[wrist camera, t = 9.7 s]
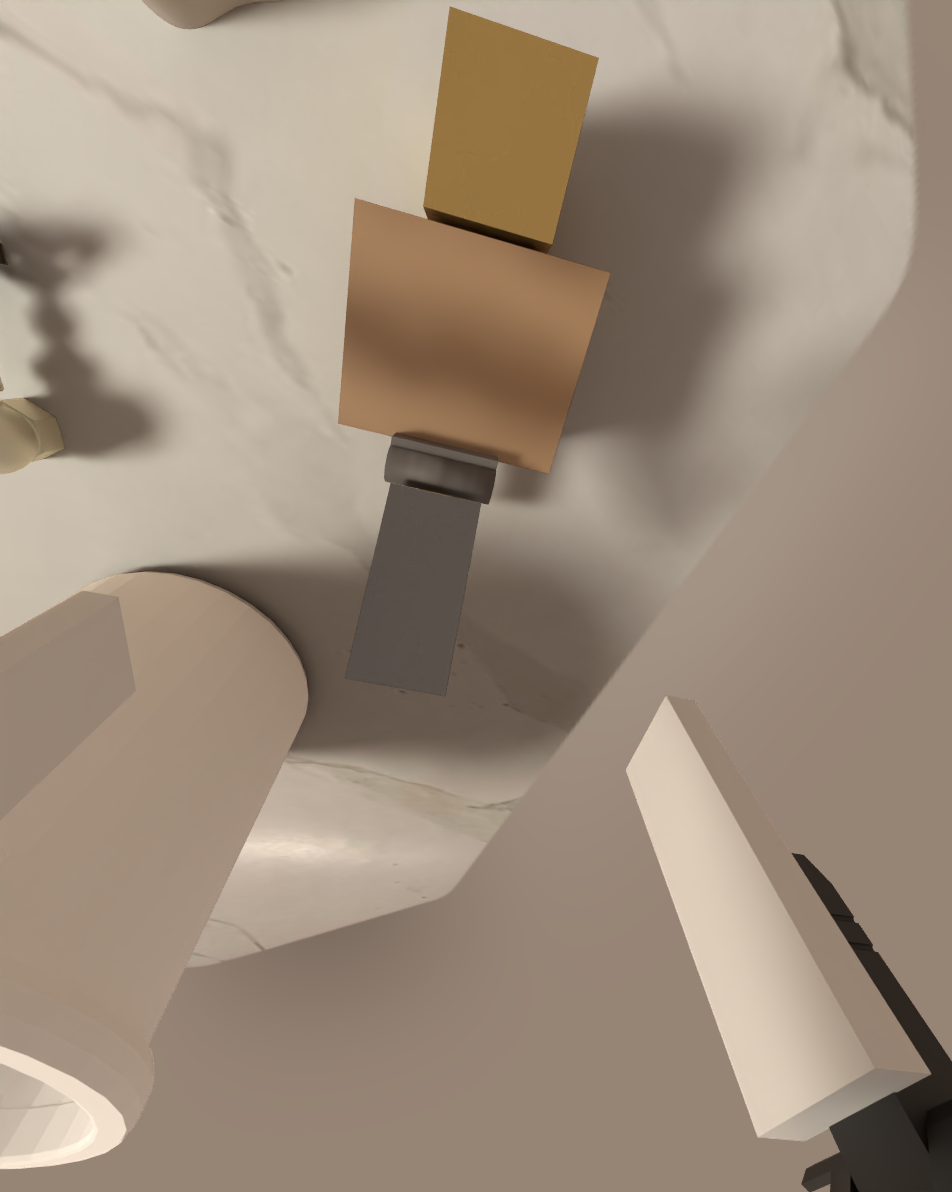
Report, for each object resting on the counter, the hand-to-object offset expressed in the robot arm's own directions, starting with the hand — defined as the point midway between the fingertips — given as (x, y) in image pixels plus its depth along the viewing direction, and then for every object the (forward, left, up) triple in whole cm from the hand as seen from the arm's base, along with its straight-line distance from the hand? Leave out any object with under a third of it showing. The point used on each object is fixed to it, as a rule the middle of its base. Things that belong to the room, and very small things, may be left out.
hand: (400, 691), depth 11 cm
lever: (+2, 0, -9) cm, 9 cm away
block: (-7, 0, -22) cm, 23 cm away
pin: (-7, 0, -21) cm, 23 cm away
